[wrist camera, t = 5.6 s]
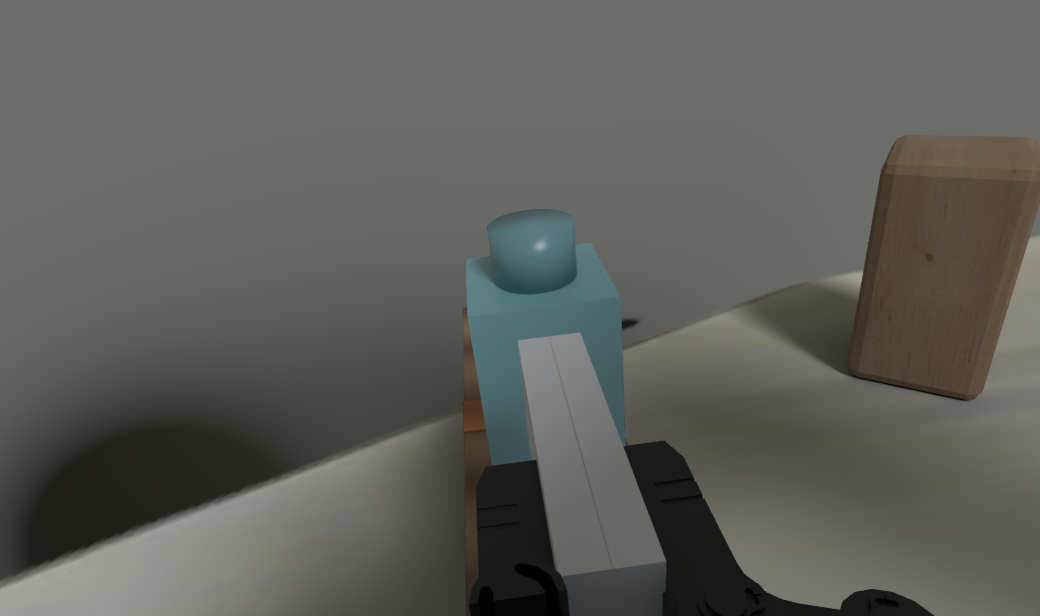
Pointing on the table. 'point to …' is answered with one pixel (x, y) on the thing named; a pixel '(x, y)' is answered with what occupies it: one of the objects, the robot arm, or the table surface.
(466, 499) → the beam
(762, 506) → the table surface
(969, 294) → the wooden block
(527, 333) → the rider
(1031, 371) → the table surface
